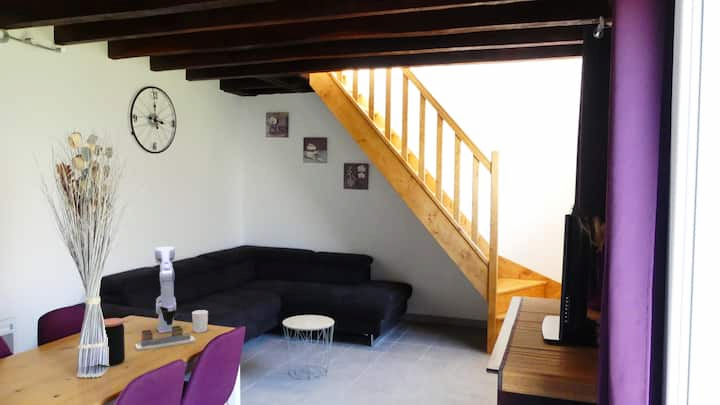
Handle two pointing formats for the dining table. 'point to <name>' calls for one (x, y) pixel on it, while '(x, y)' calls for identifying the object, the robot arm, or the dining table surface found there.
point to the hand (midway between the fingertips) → (167, 322)
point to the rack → (149, 335)
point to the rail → (165, 340)
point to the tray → (139, 348)
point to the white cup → (200, 321)
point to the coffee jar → (115, 340)
